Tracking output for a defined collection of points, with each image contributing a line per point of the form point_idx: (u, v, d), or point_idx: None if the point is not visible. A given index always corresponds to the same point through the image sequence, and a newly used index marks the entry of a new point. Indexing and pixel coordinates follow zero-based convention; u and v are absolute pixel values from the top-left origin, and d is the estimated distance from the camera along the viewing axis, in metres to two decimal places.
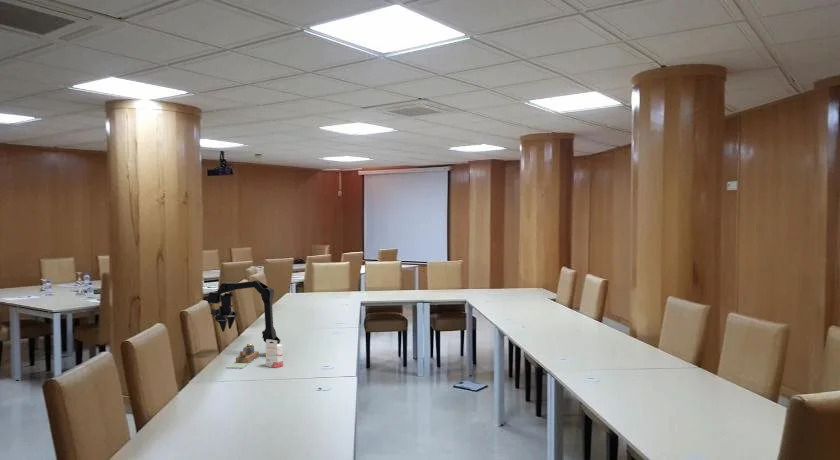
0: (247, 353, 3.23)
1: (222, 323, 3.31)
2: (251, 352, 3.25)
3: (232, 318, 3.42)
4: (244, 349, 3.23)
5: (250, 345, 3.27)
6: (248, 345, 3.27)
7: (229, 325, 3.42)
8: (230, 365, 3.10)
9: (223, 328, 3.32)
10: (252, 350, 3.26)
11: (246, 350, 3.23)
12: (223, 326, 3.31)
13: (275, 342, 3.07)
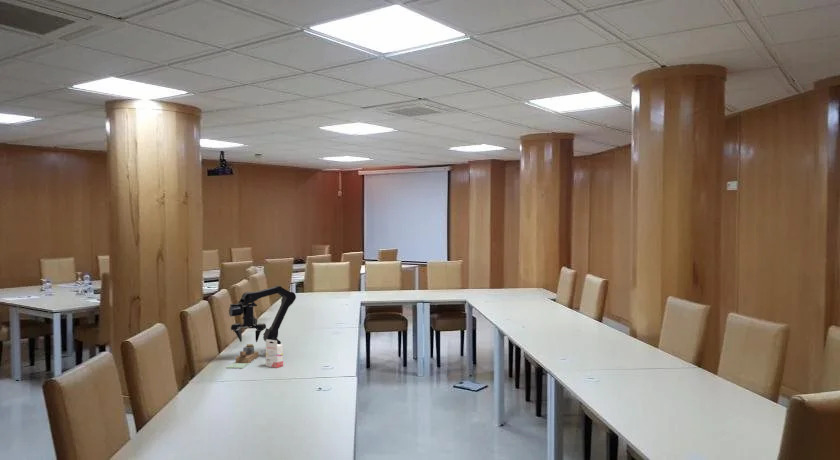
0: (247, 353, 3.23)
1: None
2: (251, 352, 3.25)
3: None
4: (244, 349, 3.23)
5: (250, 345, 3.27)
6: (248, 345, 3.27)
7: None
8: (230, 365, 3.10)
9: None
10: (252, 350, 3.26)
11: (246, 350, 3.23)
12: None
13: (275, 342, 3.07)
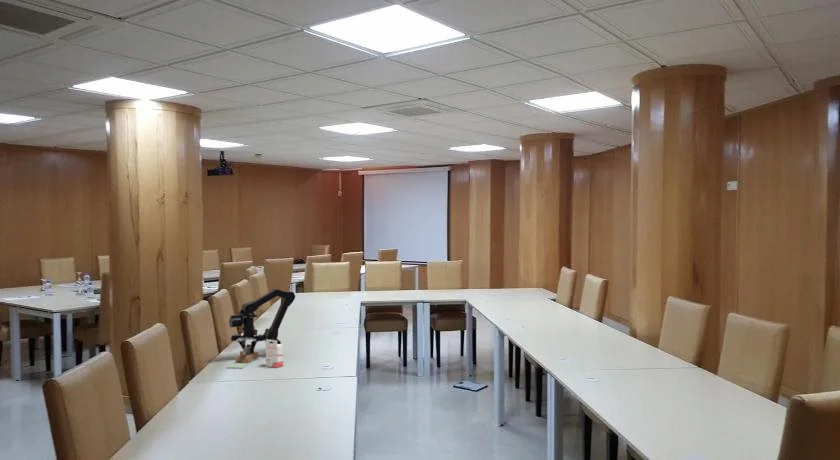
0: (247, 353, 3.23)
1: None
2: (251, 352, 3.25)
3: None
4: (244, 349, 3.23)
5: (250, 345, 3.27)
6: (248, 345, 3.27)
7: None
8: (230, 365, 3.10)
9: None
10: None
11: (246, 350, 3.23)
12: None
13: (275, 342, 3.07)
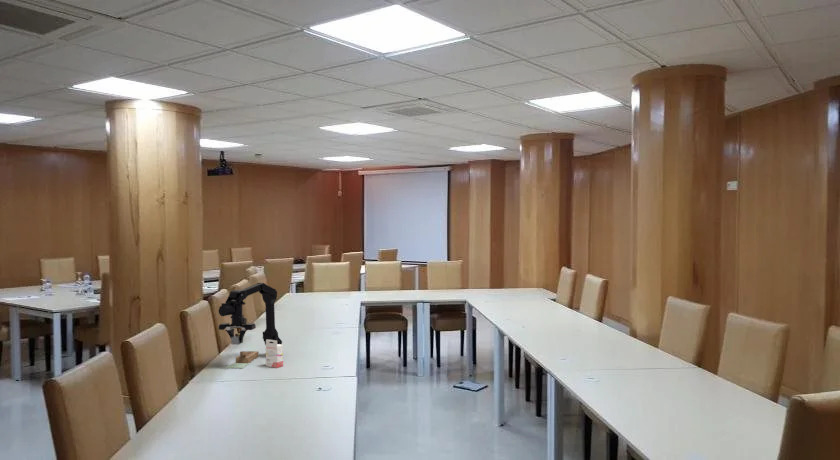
0: (235, 343, 3.07)
1: None
2: None
3: None
4: (232, 338, 3.07)
5: (239, 334, 3.11)
6: (237, 334, 3.11)
7: None
8: (230, 365, 3.10)
9: None
10: None
11: (234, 339, 3.07)
12: None
13: (275, 342, 3.07)
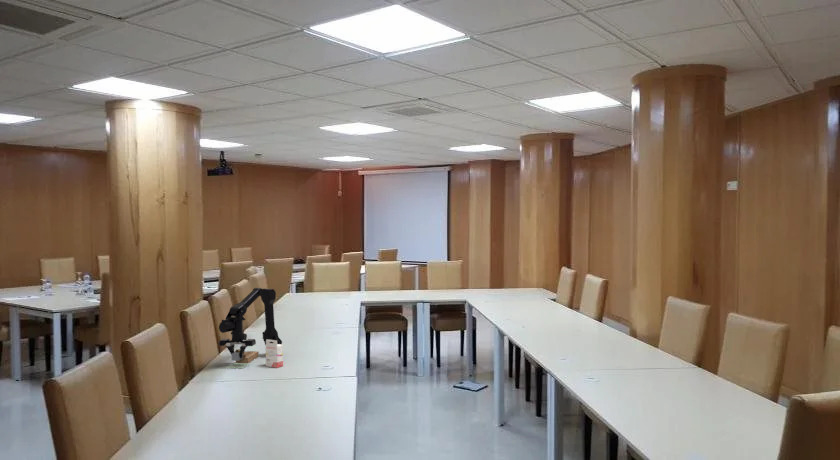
0: (236, 359, 3.07)
1: None
2: (240, 357, 3.09)
3: None
4: (232, 354, 3.07)
5: (239, 350, 3.11)
6: (237, 350, 3.11)
7: None
8: (230, 365, 3.10)
9: None
10: None
11: (235, 355, 3.07)
12: None
13: (275, 342, 3.07)
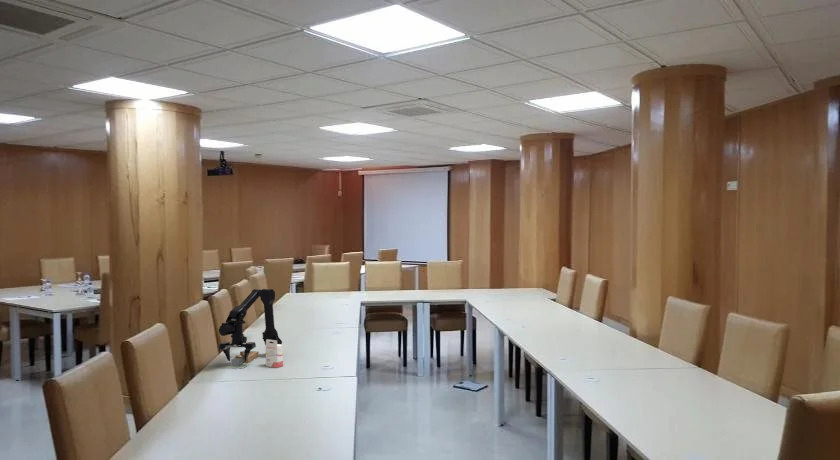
0: (236, 365, 3.07)
1: None
2: (240, 364, 3.09)
3: None
4: (232, 360, 3.07)
5: (239, 356, 3.11)
6: (237, 356, 3.11)
7: None
8: (230, 365, 3.10)
9: None
10: (241, 361, 3.10)
11: (235, 362, 3.07)
12: None
13: (275, 342, 3.07)
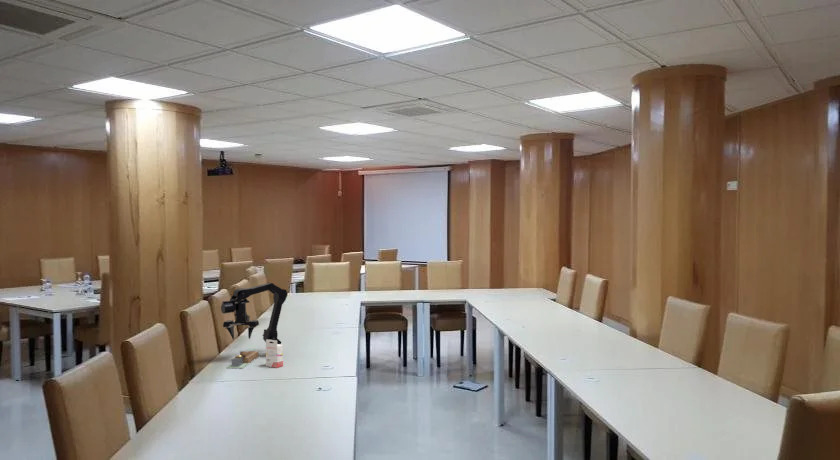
0: (236, 365, 3.07)
1: None
2: (240, 364, 3.09)
3: None
4: (232, 360, 3.07)
5: (239, 356, 3.11)
6: (237, 356, 3.11)
7: None
8: (230, 365, 3.10)
9: None
10: (241, 361, 3.10)
11: (235, 362, 3.07)
12: None
13: (275, 342, 3.07)
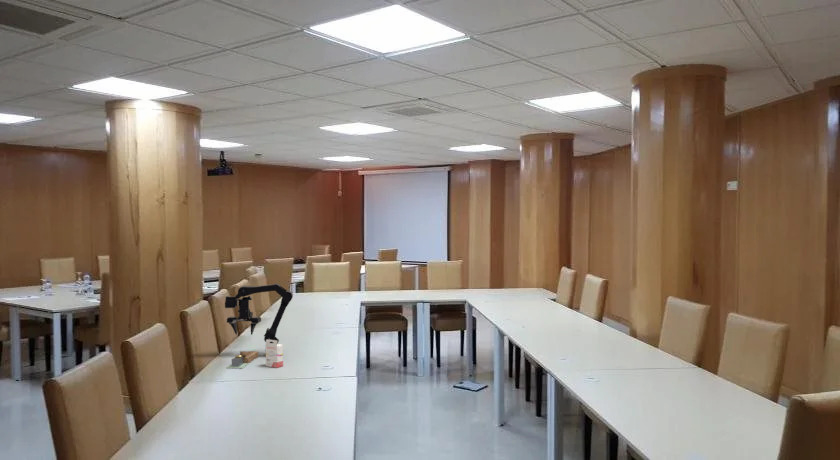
0: (236, 365, 3.07)
1: None
2: (240, 364, 3.09)
3: None
4: (232, 360, 3.07)
5: (239, 356, 3.11)
6: (237, 356, 3.11)
7: None
8: (230, 365, 3.10)
9: None
10: (241, 361, 3.10)
11: (235, 362, 3.07)
12: None
13: (275, 342, 3.07)
